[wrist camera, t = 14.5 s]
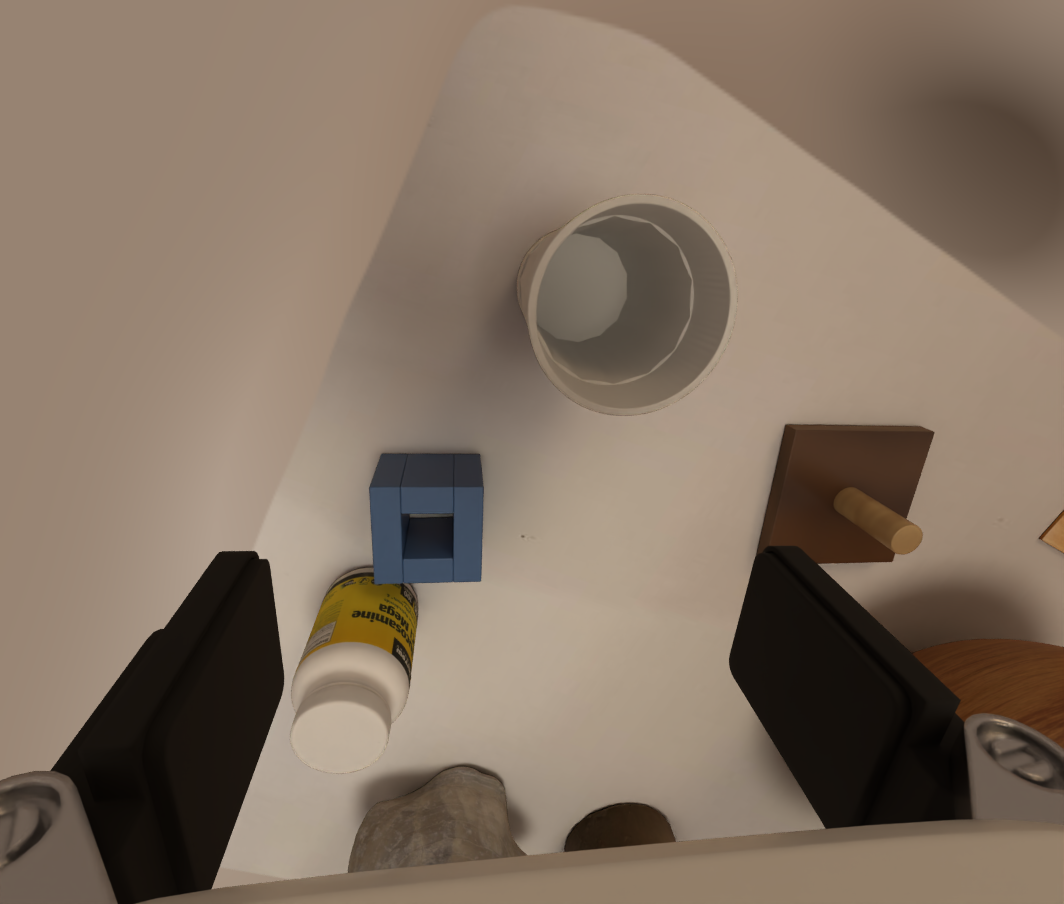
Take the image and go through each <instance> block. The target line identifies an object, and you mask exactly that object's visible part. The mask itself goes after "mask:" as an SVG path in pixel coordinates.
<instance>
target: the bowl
mask: <svg viewBox="0 0 1064 904" xmlns="http://www.w3.org/2000/svg"><path fill="white" fill-rule="evenodd" d="M912 654H913V655H914V656H915V657H916V658H917V659H918V660H919V661H920V662H921V663H922V664H923V665H924V666H925V667H926V668H927V669H929V670H930V671H931V672H932V673H933V674H934V675H935V676H936V677H937V678H938V679H939V680H940V681H941V682H942V683H943V684H944V685H945V686H946V687H947V688H949V689H950V690H951V691H952V692H953V693H954V694H955V695H956V696H957V697H958V698H959V699H960V700H961V701H960V703H959V705H958V708H957V710H956V712H955V713H956V714H957V715H958V716H959V717H960V718H961V719H962V720H963V721H964V722H965V720H966V719H968V718H969V717H970V716H971V715H974V714H981V713H988V714H995V715H1001V716H1004V717H1007V718H1010V719H1013V720H1016V721H1019V722H1021V723H1023V724H1025V725H1027V726H1029V727H1031V728H1034V729H1035V730H1037V731H1039V732H1040V733H1042V734H1044V735H1045V736H1047V737H1048V738H1050V739H1052V740H1053V741H1054V742H1056V743H1057V744H1058V745H1059V746H1061V747H1062V748H1063V749H1064V647H1060V646H1055V645H1050V644H1045V643H1039V642H1032V641H1024V640H1012V639H974V640H963V641H956V642H950V643H945V644H940V645H936V646H932V647H929V648H926V649H922V650H920V651H917V652H914V653H912Z"/></svg>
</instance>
